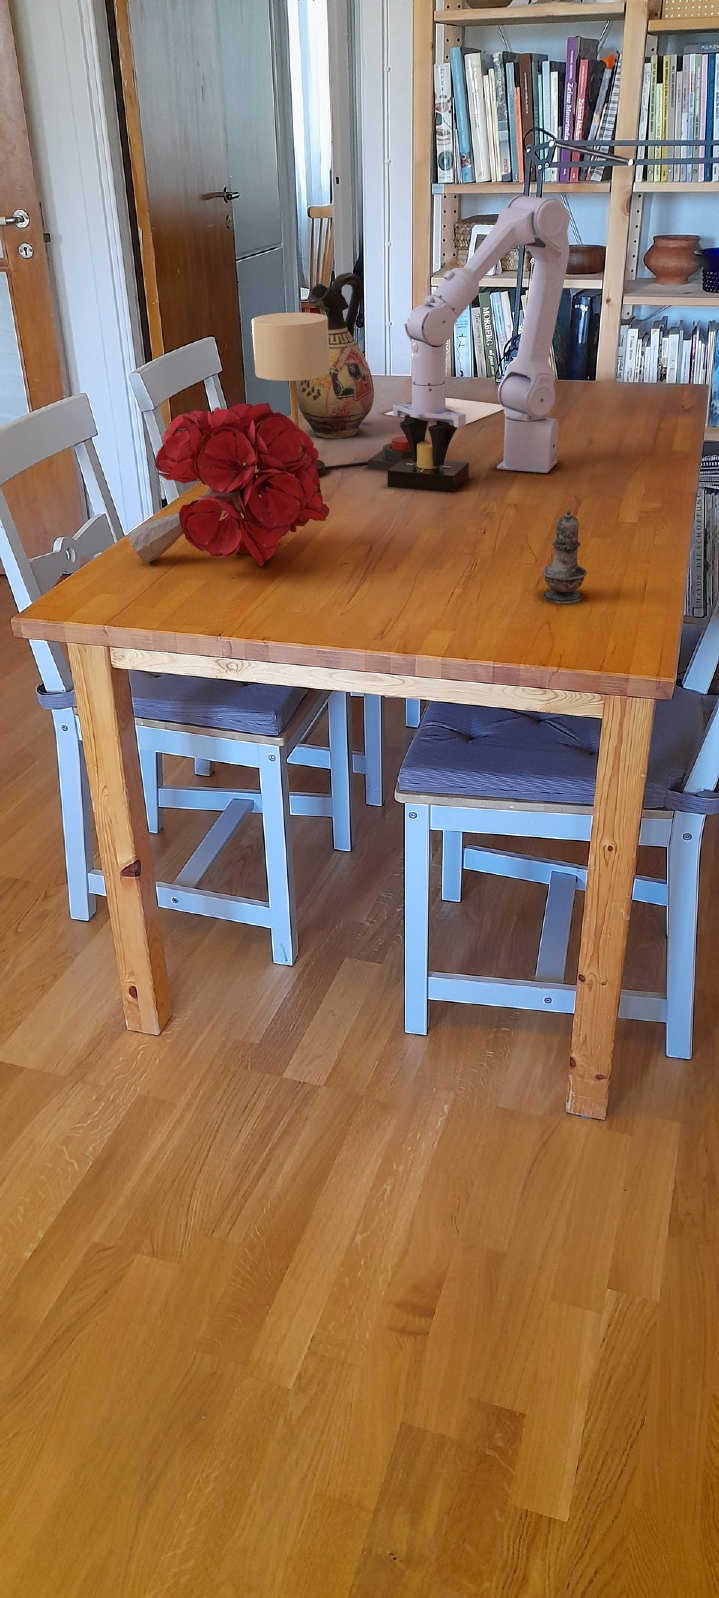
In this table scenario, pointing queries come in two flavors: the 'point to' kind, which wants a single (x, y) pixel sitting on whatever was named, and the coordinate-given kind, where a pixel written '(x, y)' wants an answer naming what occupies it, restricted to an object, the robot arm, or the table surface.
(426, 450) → the dimmer knob
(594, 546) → the table surface
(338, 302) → the ceramic jug
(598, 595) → the table surface
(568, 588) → the salt shaker
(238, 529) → the bouquet
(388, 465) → the switch box
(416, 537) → the table surface
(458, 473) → the dimmer panel
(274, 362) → the table lamp
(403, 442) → the lamp switch
